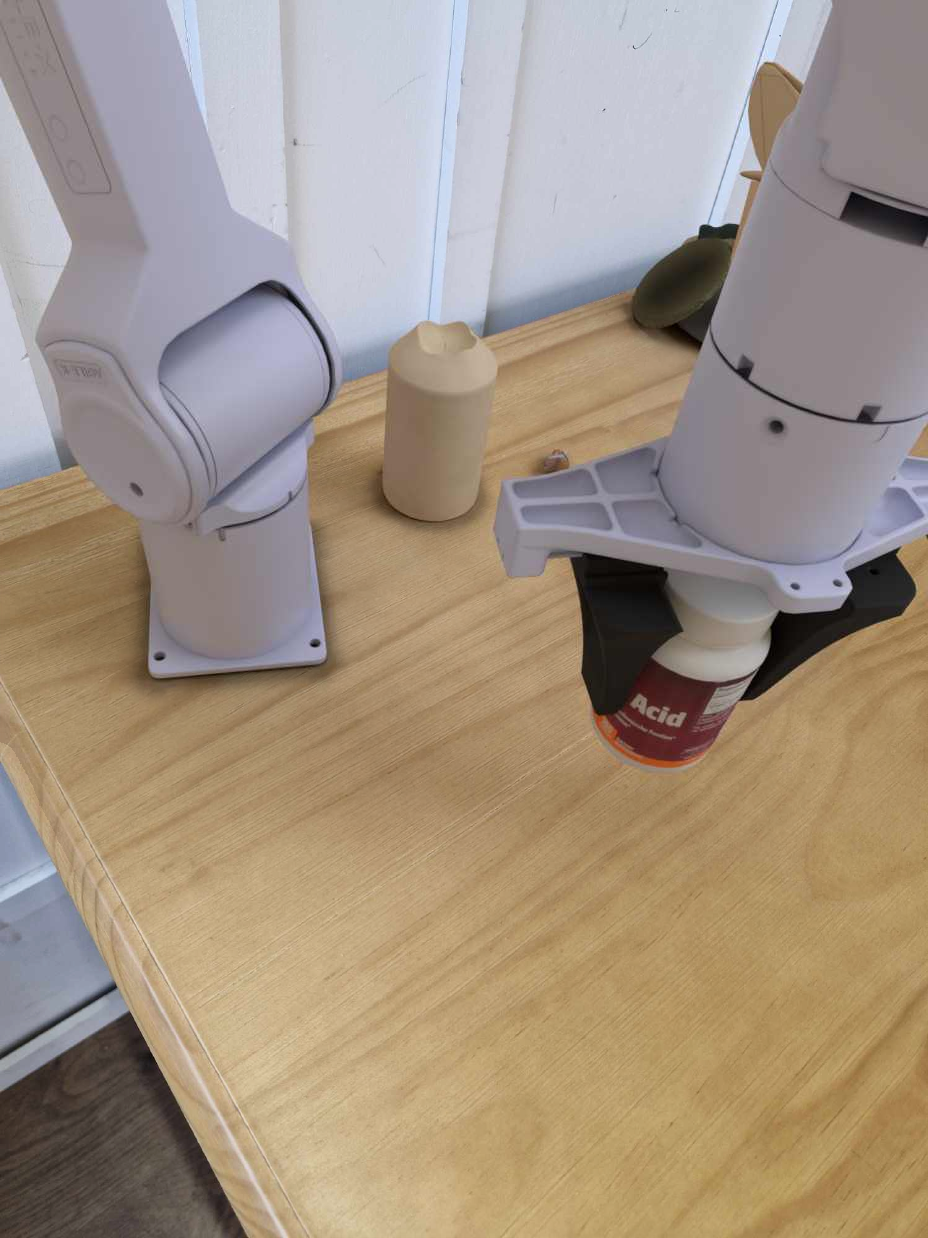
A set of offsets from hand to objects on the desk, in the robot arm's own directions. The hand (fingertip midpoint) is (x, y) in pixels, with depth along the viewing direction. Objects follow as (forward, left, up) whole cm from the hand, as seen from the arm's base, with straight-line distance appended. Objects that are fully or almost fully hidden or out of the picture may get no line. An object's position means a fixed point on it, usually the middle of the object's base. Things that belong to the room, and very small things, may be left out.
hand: (667, 685), depth 32 cm
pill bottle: (0, 0, -3) cm, 3 cm away
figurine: (-23, +7, -9) cm, 25 cm away
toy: (-39, +26, -9) cm, 48 cm away
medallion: (-39, +17, -6) cm, 42 cm away
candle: (-21, -4, -9) cm, 23 cm away
